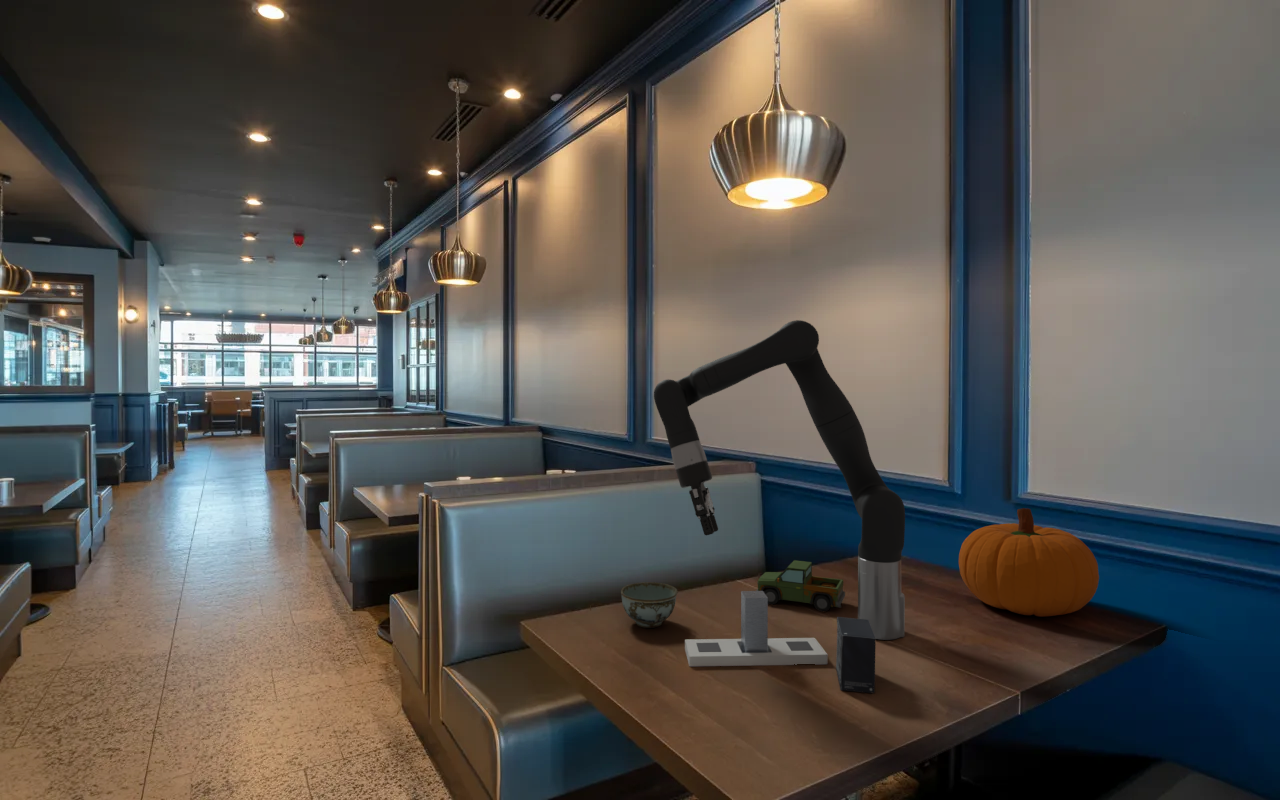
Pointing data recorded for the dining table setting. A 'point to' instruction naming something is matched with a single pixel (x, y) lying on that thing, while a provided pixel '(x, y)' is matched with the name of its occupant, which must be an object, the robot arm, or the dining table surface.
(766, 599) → the brushed metal pillar
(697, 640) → the white slotted plate
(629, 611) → the bowl
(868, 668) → the small box
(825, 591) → the toy truck
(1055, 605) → the decorative pumpkin
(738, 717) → the dining table surface
